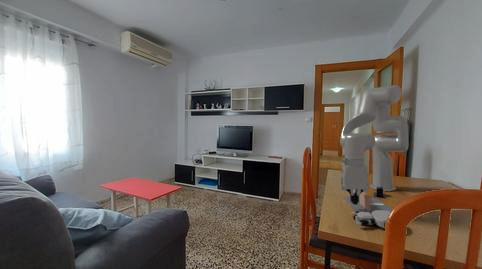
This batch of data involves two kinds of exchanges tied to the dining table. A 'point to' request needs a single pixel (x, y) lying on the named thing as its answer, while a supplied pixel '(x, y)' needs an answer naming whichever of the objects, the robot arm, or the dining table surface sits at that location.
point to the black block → (380, 193)
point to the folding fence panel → (364, 201)
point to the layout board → (374, 205)
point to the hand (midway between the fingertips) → (354, 203)
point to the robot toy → (371, 217)
